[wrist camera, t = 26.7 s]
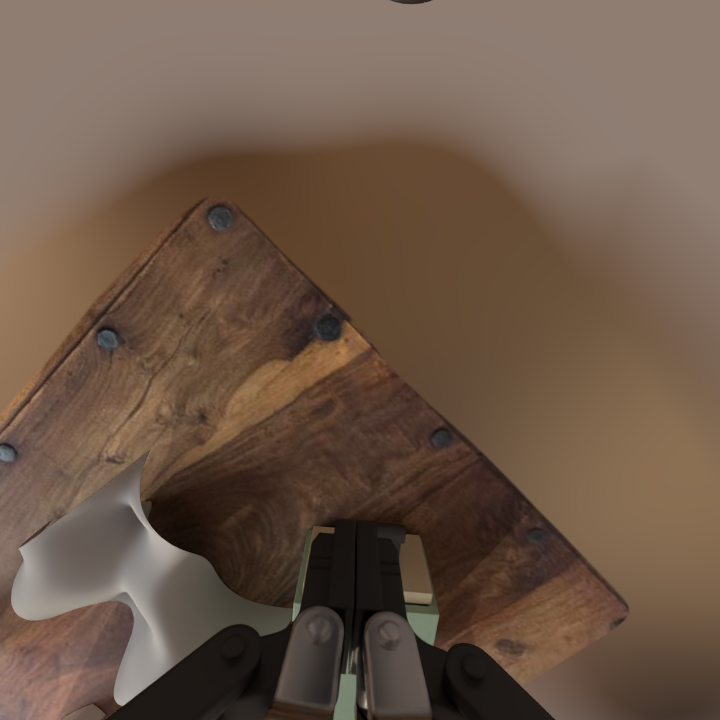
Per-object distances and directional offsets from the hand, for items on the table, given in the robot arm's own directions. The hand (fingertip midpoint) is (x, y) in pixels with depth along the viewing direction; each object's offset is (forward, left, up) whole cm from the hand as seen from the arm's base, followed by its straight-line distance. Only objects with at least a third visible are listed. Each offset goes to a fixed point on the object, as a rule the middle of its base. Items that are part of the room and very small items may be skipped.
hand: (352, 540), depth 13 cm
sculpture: (+27, +17, -23) cm, 39 cm away
